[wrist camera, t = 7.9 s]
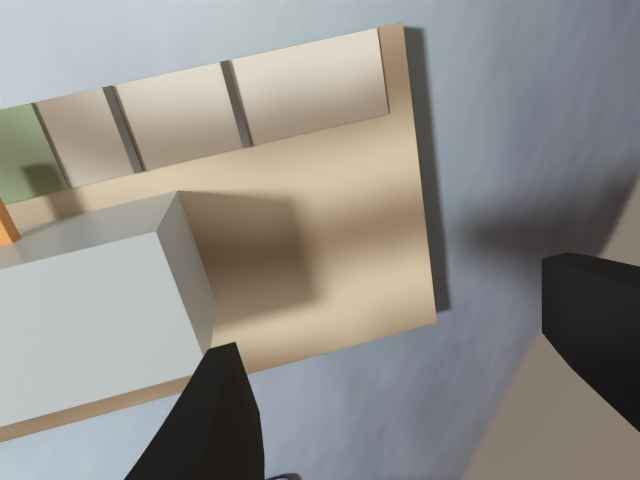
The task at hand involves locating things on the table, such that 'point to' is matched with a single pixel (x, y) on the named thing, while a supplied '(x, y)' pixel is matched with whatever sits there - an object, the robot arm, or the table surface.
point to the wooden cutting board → (251, 192)
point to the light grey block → (99, 305)
